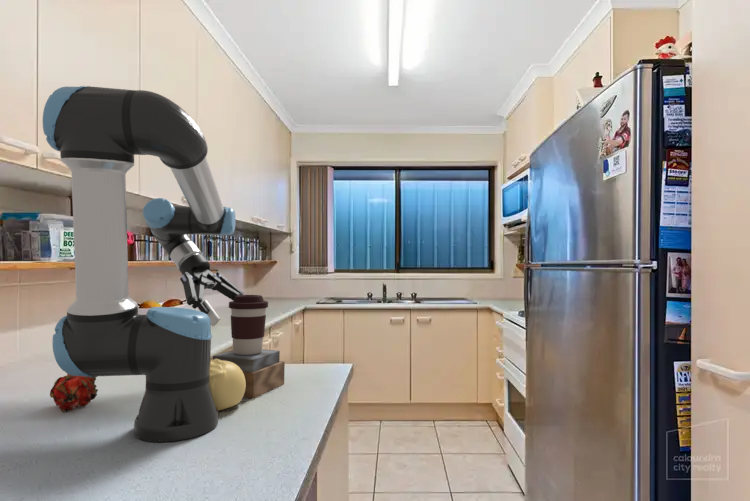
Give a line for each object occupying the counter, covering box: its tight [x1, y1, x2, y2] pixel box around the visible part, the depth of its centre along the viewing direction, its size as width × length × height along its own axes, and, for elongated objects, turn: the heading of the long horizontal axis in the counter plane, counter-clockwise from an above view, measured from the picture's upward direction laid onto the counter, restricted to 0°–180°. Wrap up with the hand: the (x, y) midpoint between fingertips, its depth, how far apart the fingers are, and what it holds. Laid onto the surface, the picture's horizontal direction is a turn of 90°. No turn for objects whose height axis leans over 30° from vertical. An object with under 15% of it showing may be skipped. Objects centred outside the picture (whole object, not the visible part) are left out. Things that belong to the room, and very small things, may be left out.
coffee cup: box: [228, 294, 269, 355], centre depth 115 cm, size 10×10×15 cm
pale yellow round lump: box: [210, 359, 246, 412], centre depth 100 cm, size 11×12×11 cm
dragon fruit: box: [49, 373, 99, 413], centre depth 98 cm, size 8×8×12 cm
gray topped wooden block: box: [212, 348, 286, 399], centre depth 115 cm, size 14×14×9 cm
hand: (234, 319), depth 117 cm, fingers open, 13 cm apart
